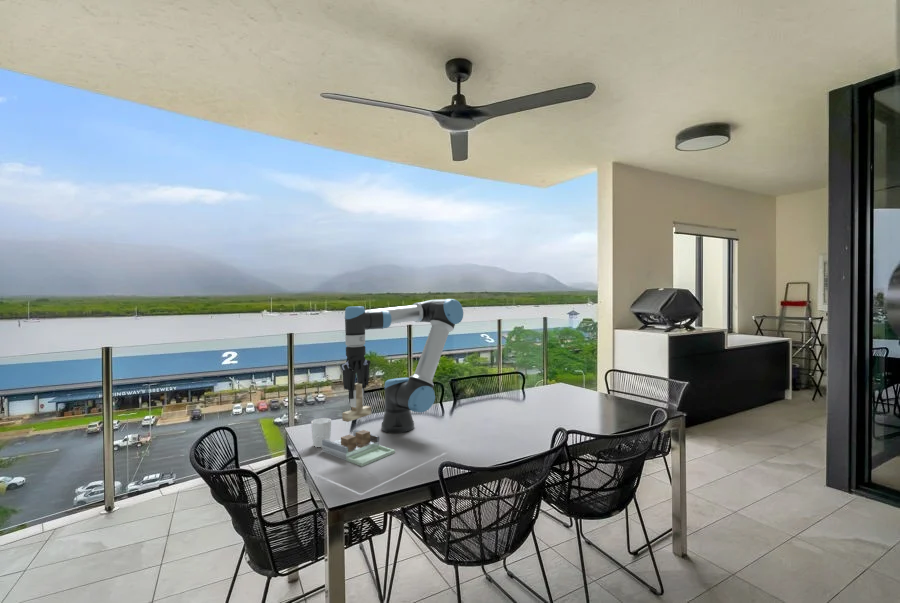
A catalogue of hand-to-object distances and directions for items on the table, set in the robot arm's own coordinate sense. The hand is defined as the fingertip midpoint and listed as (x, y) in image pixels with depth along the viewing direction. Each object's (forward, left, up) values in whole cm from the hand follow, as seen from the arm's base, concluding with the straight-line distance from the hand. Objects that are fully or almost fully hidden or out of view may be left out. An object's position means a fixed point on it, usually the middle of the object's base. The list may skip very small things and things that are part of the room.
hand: (356, 405), depth 153 cm
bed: (0, -4, -18) cm, 19 cm away
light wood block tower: (0, 0, -5) cm, 5 cm away
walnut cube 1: (+4, -1, -15) cm, 16 cm away
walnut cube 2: (-3, -1, -15) cm, 16 cm away
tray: (0, +8, -18) cm, 20 cm away
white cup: (+3, -19, -19) cm, 27 cm away
